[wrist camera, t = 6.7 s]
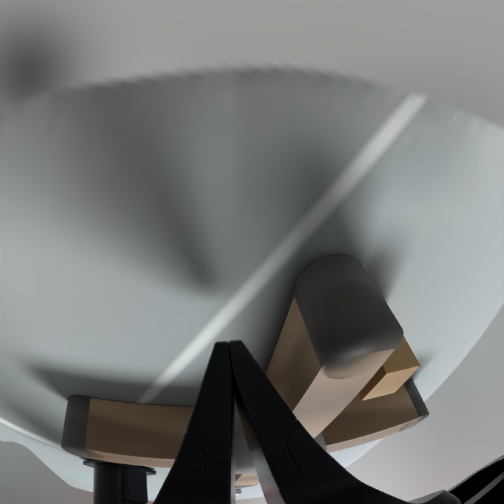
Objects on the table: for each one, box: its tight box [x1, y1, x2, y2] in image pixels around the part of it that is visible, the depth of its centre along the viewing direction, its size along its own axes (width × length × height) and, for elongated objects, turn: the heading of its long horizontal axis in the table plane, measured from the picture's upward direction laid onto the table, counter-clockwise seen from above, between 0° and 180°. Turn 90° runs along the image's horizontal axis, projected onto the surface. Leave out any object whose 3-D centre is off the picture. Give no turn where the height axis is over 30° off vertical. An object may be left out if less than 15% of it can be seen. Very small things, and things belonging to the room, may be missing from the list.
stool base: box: [61, 336, 429, 488], centre depth 15 cm, size 22×25×4 cm
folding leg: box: [265, 255, 403, 438], centre depth 10 cm, size 9×3×3 cm, turn 170°
